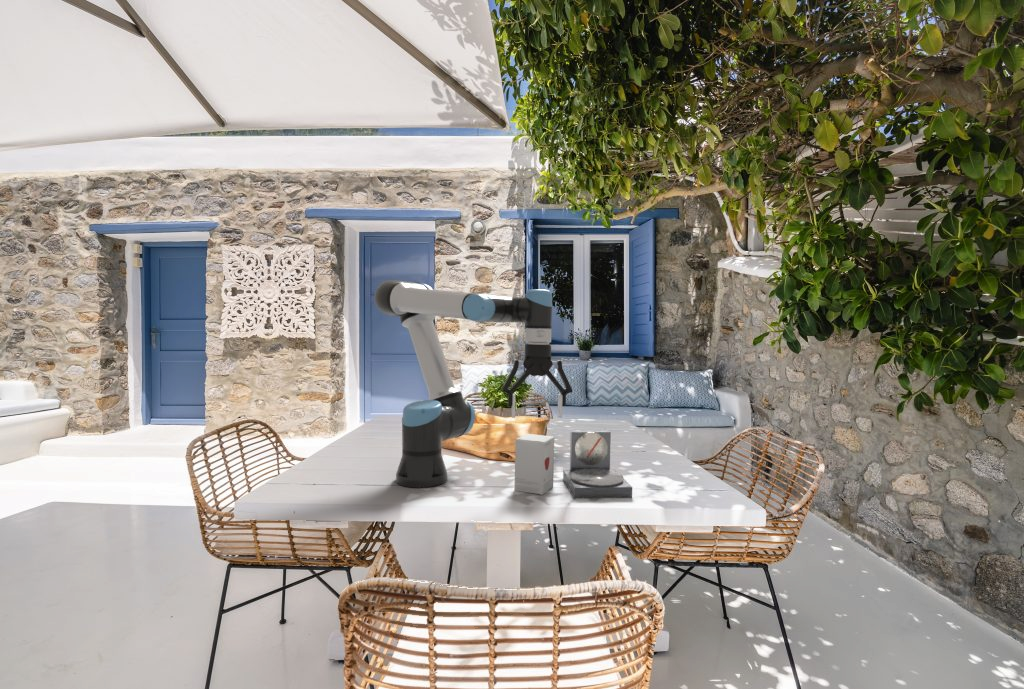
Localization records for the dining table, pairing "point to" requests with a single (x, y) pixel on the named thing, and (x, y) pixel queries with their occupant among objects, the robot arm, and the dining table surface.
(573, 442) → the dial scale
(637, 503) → the dining table surface
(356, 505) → the dining table surface
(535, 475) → the supplement box
